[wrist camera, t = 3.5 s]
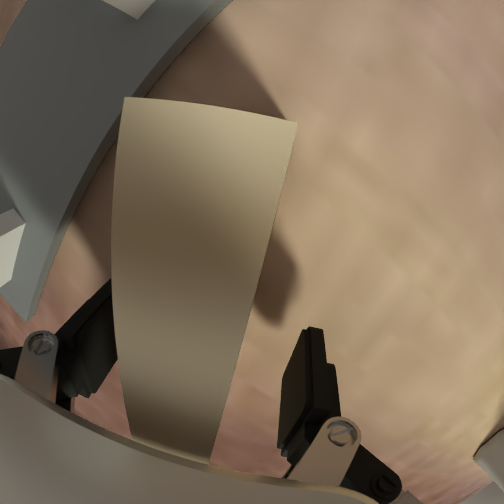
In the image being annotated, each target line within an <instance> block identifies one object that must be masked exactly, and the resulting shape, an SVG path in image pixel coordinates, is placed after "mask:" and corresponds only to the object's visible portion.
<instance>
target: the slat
mask: <svg viewBox="0 0 504 504" xmlns="http://www.w3.org/2000/svg"><path fill="white" fill-rule="evenodd" d="M297 126H298V123H296V122H292V121H288V120H284V119H279V118H275V117H270V116H266V115H261V114H256V113H251V112H246V111H241V110H235V109H230V108H224V107H218V106H211V105H204V104H197V103H189V102H181V101H172V100H162V99H150V98H136V97H125V98H124V104H123V109H122V115H121V122H120V129H119V136H118V143H117V152H116V161H115V171H114V183H113V198H112V219H111V280H112V301H113V316H114V328H115V339H116V348H117V356H118V364H119V371H120V378H121V384H122V390H123V396H124V402H125V407H126V412H127V417H128V422H129V427H130V431H131V436H132V440H133V441H135V442H138V443H141V444H143V445H146V446H149V447H152V448H155V449H157V450H160V451H163V452H166V453H170V454H173V455H176V456H179V457H183V458H186V459H190V460H193V461H197V462H201V463H204V464H208V463H209V460H210V456H211V453H212V449H213V446H214V442H215V439H216V435H217V432H218V428H219V425H220V421H221V418H222V414H223V411H224V407H225V403H226V400H227V396H228V393H229V389H230V385H231V382H232V378H233V374H234V371H235V367H236V363H237V360H238V356H239V352H240V349H241V345H242V341H243V338H244V334H245V330H246V326H247V323H248V319H249V315H250V311H251V308H252V304H253V300H254V296H255V293H256V289H257V285H258V281H259V277H260V273H261V270H262V266H263V262H264V258H265V254H266V250H267V246H268V243H269V239H270V235H271V231H272V227H273V223H274V219H275V215H276V211H277V207H278V203H279V199H280V195H281V191H282V187H283V183H284V179H285V175H286V171H287V167H288V163H289V159H290V155H291V151H292V147H293V143H294V139H295V135H296V131H297Z"/></svg>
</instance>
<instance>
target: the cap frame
mask: <svg viewBox="0 0 504 504" xmlns="http://www.w3.org/2000/svg"><path fill="white" fill-rule="evenodd" d="M231 1H233V0H28V1H27V2H26V4H25V5H24V7H23V9H22V10H21V12H20V13H19V15H18V17H17V18H16V20H15V22H14V23H13V25H12V27H11V29H10V31H9V32H8V34H7V36H6V38H5V40H4V42H3V44H2V46H1V48H0V294H1V295H2V296H3V297H4V299H5V300H6V301H7V302H8V303H9V304H10V306H11V307H12V308H13V309H14V310H15V311H16V312H17V314H18V315H19V316H20V317H21V318H22V319H23V320H24V321H25V322H27V321H28V320H30V319H31V318H32V317H33V316H34V315H35V312H36V309H37V305H38V302H39V299H40V296H41V293H42V290H43V287H44V284H45V282H46V279H47V276H48V273H49V271H50V268H51V265H52V263H53V260H54V258H55V255H56V253H57V250H58V248H59V246H60V243H61V241H62V239H63V236H64V234H65V232H66V230H67V227H68V225H69V223H70V221H71V219H72V217H73V215H74V213H75V211H76V209H77V207H78V205H79V203H80V201H81V199H82V197H83V195H84V193H85V191H86V189H87V187H88V185H89V183H90V182H91V180H92V178H93V176H94V174H95V173H96V171H97V169H98V167H99V166H100V164H101V162H102V160H103V159H104V157H105V155H106V154H107V152H108V151H109V149H110V147H111V146H112V144H113V143H114V141H115V139H116V138H117V136H118V135H119V129H120V122H121V115H122V109H123V104H124V98H125V97H136V98H144V97H145V96H146V95H147V93H148V92H149V91H150V89H151V88H152V87H153V86H154V84H155V83H156V82H157V80H158V79H159V78H160V77H161V75H162V74H163V73H164V72H165V71H166V69H167V68H168V67H169V66H170V65H171V63H172V62H173V61H174V60H175V59H176V58H177V56H178V55H179V54H180V53H181V52H182V51H183V50H184V48H185V47H186V46H187V45H188V44H189V43H190V42H191V41H192V40H193V39H194V38H195V37H196V36H197V34H198V33H199V32H200V31H201V30H202V29H203V28H204V27H205V26H206V25H207V24H208V23H209V22H210V21H211V20H212V19H213V18H214V17H215V16H216V15H217V14H218V13H220V12H221V11H222V10H223V9H224V8H225V7H226V6H227V5H228V4H229V3H230V2H231Z"/></svg>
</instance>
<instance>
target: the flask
mask: <svg viewBox="0 0 504 504" xmlns="http://www.w3.org/2000/svg"><path fill="white" fill-rule="evenodd" d="M473 460H474V461H475V462H476V463H477V464H478V465H479V466H480V467H481V468H482V469H483V470H484V471H485V472H486V473H487V474H488V475H489V476H490V477H491V478H492V479H493V480H494V481H495V482H496V484H497V485H498V486H499V487H500V488H501V489H502V490H503V492H504V429H503V430H501V431H499V432H498V433H497V434H496V435H495V436H494V437H492V438H491V439H490V440H489V441H488V442H487V443H486V444H484V445H483V446H482V447H481V448H480V449H479V450H478V452H477V453H476V455H475V457H474V458H473Z"/></svg>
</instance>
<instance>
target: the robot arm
mask: <svg viewBox="0 0 504 504" xmlns="http://www.w3.org/2000/svg"><path fill="white" fill-rule="evenodd" d="M117 359H118V356H117V348H116V339H115V328H114V316H113V301H112V280H111V279H110V280H109V281H107V282H106V283H105V284H104V285H103V286H102V287H101V288H100V289H99V290H98V291H97V292H96V293H95V294H94V295H93V296H92V297H91V298H90V299H89V300H87V301H86V302H85V303H84V304H83V305H82V306H81V307H80V308H79V309H78V310H77V311H76V312H75V313H74V314H73V316H72V317H71V318H70V319H69V320H68V321H67V322H66V323H65V324H64V325H63V326H62V327H61V328H60V329H59V330H58V331H57V332H56V333H55V335H54V334H53V333H51V332H49V331H36V332H33V333H32V334H30V335H29V336H28V337H27V338H26V340H25V342H24V345H23V347H16V348H10V349H3V350H0V504H423V503H422V502H421V501H420V500H418V499H417V498H416V497H415V496H414V495H413V494H411V493H410V492H409V491H408V490H407V491H406V492H404V491H403V490H402V483H401V480H400V478H399V476H398V475H397V474H396V473H395V472H394V471H392V470H391V469H390V468H389V467H387V466H386V465H385V464H384V463H382V462H381V461H380V460H379V459H377V458H376V457H375V456H374V455H373V454H371V453H370V452H369V451H368V450H367V449H365V448H364V447H363V446H362V445H361V444H360V442H361V431H360V429H359V427H358V426H357V425H356V424H355V423H354V422H353V421H351V420H350V419H347V418H345V417H341V411H340V402H339V393H338V384H337V376H336V369H335V365H334V364H330V363H327V360H326V351H325V342H324V334H323V330H322V329H319V328H314V327H308V328H307V330H306V329H303V330H302V332H301V334H300V336H299V339H298V341H297V344H296V346H295V349H294V351H293V353H292V356H291V358H290V360H289V363H288V365H287V367H286V370H285V372H284V374H283V378H282V388H281V403H280V416H279V429H278V441H277V448H279V449H281V456H283V457H287V461H288V462H289V463H290V464H291V466H290V467H289V469H288V470H287V471H286V473H285V474H284V476H283V477H282V478H276V477H269V476H263V475H257V474H251V473H246V472H240V471H235V470H230V469H226V468H221V467H217V466H213V465H208V464H204V463H201V462H197V461H193V460H190V459H186V458H183V457H179V456H176V455H173V454H170V453H166V452H163V451H160V450H157V449H155V448H152V447H149V446H146V445H143V444H141V443H138V442H135V441H133V440H130V439H128V438H125V437H123V436H120V435H118V434H116V433H113V432H111V431H109V430H106V429H104V428H102V427H100V426H98V425H96V424H93V423H91V422H89V421H87V420H85V419H83V418H81V417H79V416H77V415H75V414H74V404H75V397H77V396H78V394H80V395H82V396H84V397H86V398H89V397H90V395H91V393H96V392H97V390H98V389H99V387H100V385H101V384H102V382H103V381H104V379H105V378H106V376H107V375H108V373H109V371H110V370H111V368H112V367H113V365H114V364H115V362H116V361H117Z"/></svg>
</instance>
